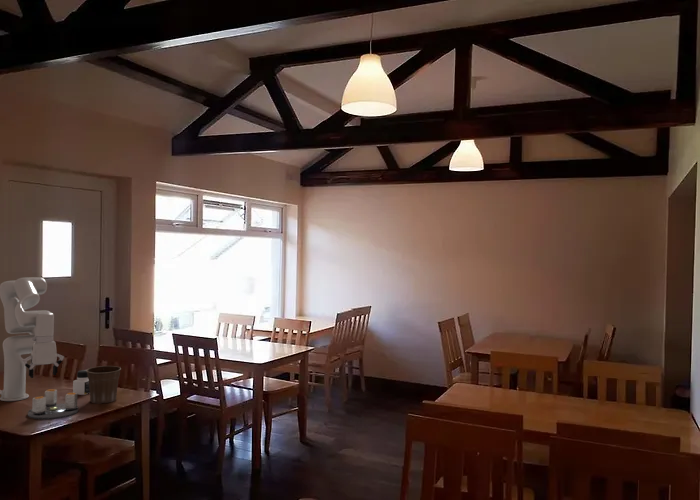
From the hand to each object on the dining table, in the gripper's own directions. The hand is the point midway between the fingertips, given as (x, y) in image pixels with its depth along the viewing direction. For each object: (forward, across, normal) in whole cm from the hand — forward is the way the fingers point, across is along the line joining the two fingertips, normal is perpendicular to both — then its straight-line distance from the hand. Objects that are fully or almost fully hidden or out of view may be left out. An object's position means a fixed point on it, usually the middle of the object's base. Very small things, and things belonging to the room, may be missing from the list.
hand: (43, 376), depth 263 cm
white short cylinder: (+16, +11, -5) cm, 20 cm away
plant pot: (+18, +30, +7) cm, 36 cm away
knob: (+16, -2, -4) cm, 17 cm away
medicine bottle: (+18, +27, +29) cm, 44 cm away
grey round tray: (+18, +5, -1) cm, 18 cm away
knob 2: (+16, +6, +7) cm, 18 cm away
